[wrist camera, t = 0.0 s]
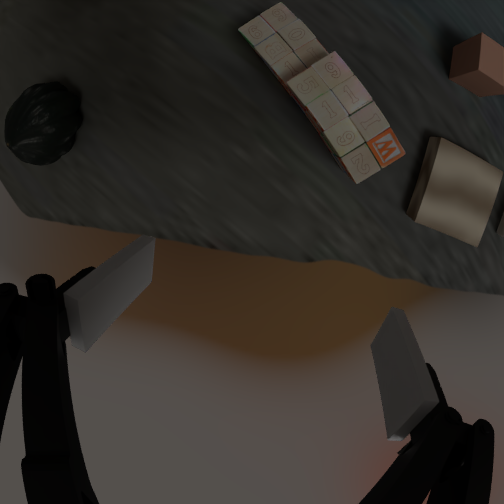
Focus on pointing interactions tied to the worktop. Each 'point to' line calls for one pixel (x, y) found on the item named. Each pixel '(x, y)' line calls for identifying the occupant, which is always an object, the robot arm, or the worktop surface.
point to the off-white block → (501, 227)
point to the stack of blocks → (324, 92)
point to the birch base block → (454, 191)
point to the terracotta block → (479, 66)
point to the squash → (42, 123)
